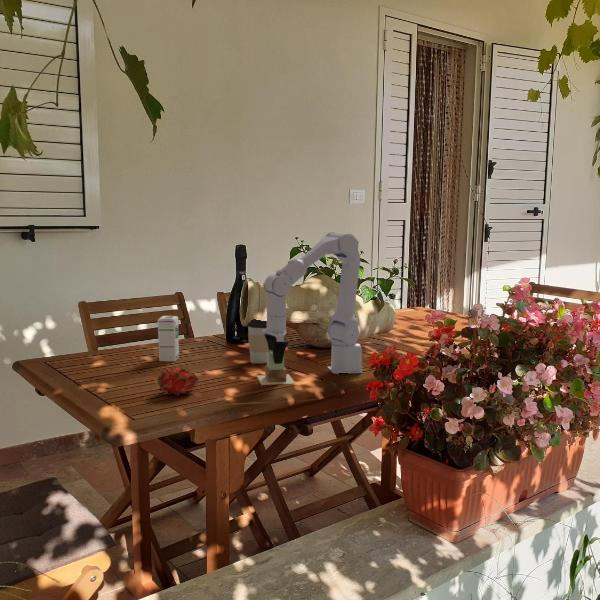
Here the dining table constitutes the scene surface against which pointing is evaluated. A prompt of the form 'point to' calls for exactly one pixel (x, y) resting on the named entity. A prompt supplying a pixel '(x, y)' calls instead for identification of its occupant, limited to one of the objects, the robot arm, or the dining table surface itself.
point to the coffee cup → (257, 341)
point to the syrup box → (168, 338)
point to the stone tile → (265, 382)
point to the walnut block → (275, 375)
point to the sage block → (271, 364)
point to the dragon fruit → (177, 381)
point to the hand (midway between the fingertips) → (275, 360)
